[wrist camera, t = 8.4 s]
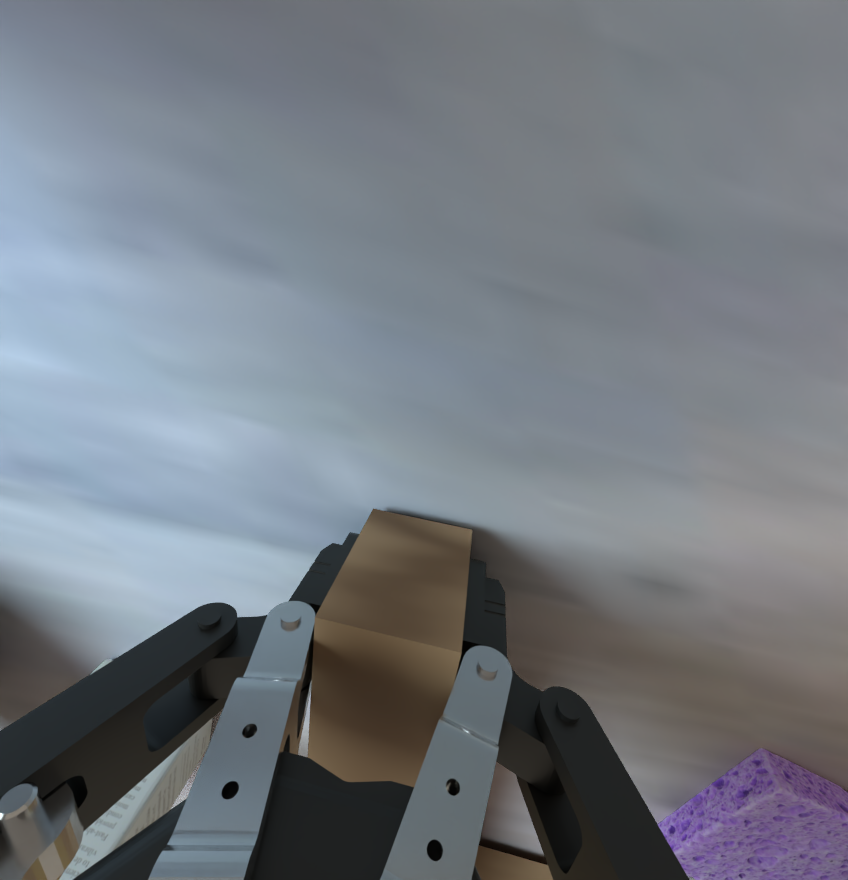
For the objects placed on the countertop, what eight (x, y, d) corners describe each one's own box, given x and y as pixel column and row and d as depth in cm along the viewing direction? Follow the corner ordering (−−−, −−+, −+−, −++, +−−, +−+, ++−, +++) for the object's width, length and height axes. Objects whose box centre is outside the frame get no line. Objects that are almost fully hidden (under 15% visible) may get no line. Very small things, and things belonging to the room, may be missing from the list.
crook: (338, 827, 22) (297, 974, 17) (373, 508, 14) (314, 617, 10) (596, 902, 20) (625, 1084, 16) (784, 596, 13) (947, 770, 8)
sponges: (752, 733, 16) (782, 787, 14) (1031, 868, 16) (1095, 938, 15) (643, 814, 19) (657, 867, 17) (882, 929, 19) (920, 993, 17)
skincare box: (109, 706, 22) (-283, 1137, 11) (108, 653, 20) (-357, 1098, 9) (213, 746, 22) (-79, 1229, 11) (220, 696, 20) (-118, 1205, 9)
